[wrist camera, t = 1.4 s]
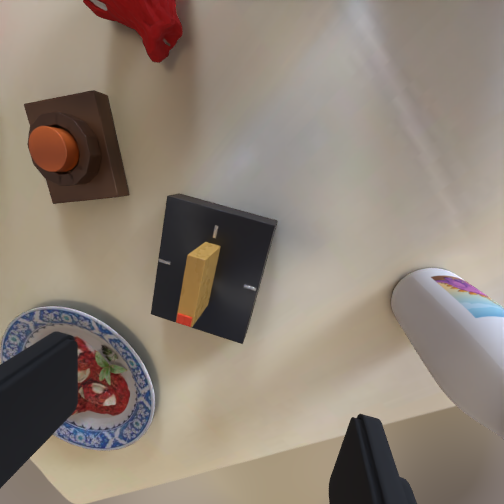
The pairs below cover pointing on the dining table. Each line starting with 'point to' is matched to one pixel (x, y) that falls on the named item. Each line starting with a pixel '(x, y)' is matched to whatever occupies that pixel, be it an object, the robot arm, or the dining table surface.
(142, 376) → the ceramic plate
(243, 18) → the dining table surface
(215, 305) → the plate
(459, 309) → the milk bottle
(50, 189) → the button block
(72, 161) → the button
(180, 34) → the white and red skull
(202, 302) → the tap lever
